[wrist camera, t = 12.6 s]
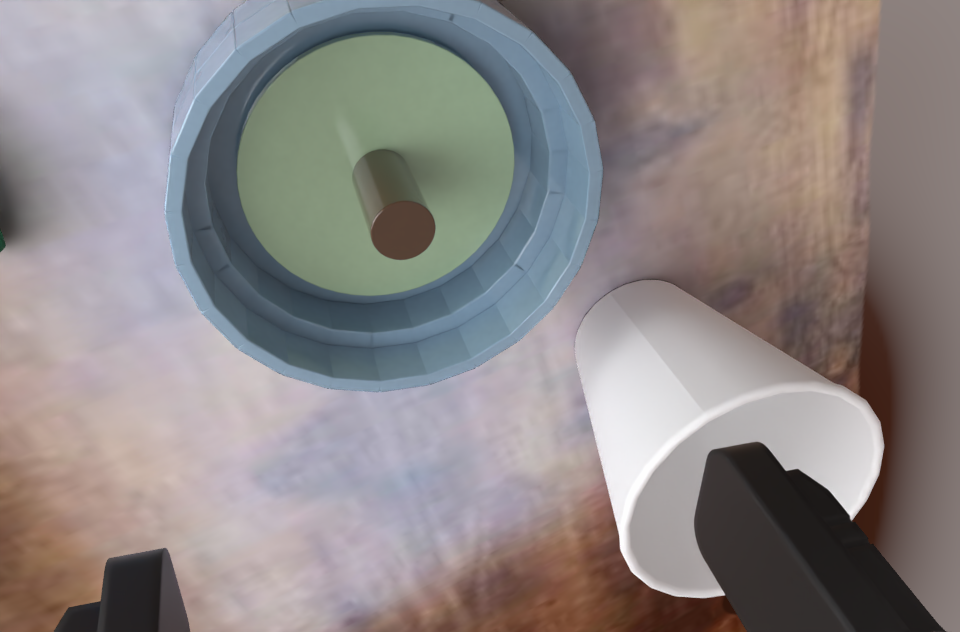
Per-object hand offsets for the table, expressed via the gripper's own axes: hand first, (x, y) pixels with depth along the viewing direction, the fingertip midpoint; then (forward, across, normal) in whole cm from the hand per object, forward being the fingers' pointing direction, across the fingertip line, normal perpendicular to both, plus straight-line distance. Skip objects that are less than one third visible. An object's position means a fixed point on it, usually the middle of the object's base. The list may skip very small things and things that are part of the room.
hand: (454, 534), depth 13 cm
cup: (+26, -16, +16) cm, 34 cm away
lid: (+24, -2, +5) cm, 25 cm away
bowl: (+26, -2, +5) cm, 26 cm away
